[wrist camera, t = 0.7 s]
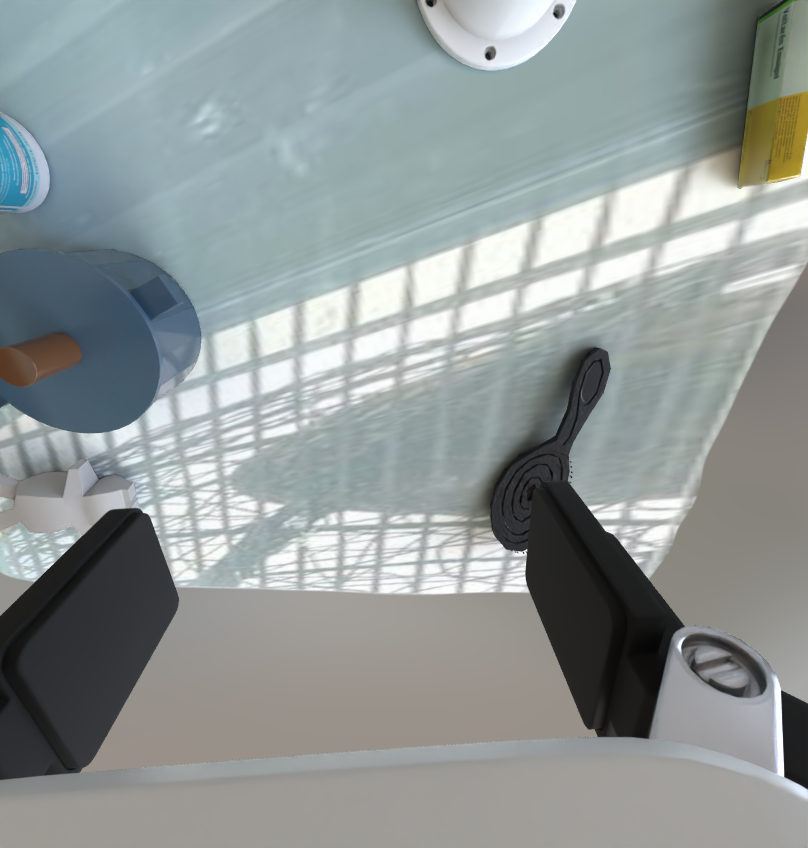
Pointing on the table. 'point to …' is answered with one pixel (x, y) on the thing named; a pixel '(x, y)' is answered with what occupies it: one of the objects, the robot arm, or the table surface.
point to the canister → (154, 310)
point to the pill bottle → (21, 169)
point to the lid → (73, 344)
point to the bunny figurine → (64, 499)
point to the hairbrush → (546, 456)
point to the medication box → (777, 97)
